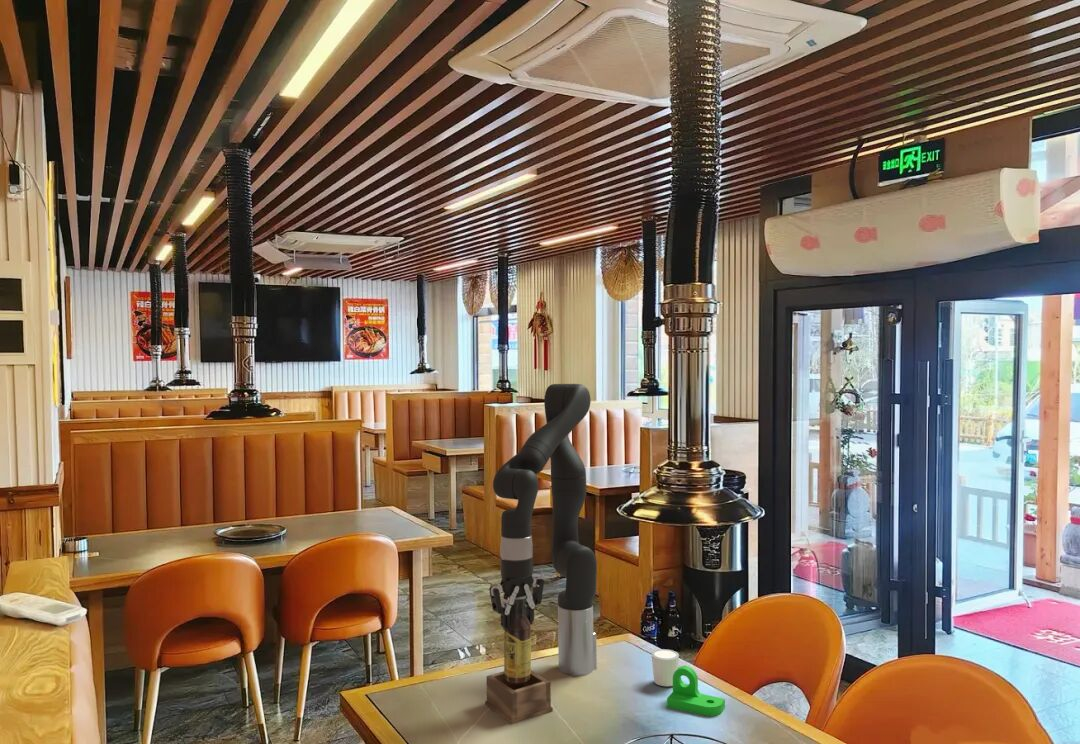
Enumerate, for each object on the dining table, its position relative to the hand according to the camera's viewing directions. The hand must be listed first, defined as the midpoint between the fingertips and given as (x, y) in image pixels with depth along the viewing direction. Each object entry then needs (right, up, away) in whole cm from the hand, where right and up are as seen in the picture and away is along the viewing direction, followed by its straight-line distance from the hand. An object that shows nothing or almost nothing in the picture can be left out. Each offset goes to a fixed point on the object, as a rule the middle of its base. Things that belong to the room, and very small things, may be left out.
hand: (517, 626), depth 181 cm
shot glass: (+37, -19, +14) cm, 44 cm away
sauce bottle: (0, -13, 0) cm, 13 cm away
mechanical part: (+42, -19, +1) cm, 46 cm away
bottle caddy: (0, -19, 0) cm, 19 cm away
